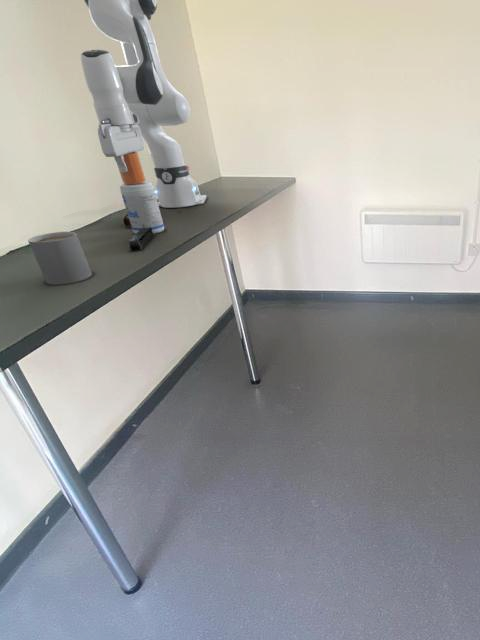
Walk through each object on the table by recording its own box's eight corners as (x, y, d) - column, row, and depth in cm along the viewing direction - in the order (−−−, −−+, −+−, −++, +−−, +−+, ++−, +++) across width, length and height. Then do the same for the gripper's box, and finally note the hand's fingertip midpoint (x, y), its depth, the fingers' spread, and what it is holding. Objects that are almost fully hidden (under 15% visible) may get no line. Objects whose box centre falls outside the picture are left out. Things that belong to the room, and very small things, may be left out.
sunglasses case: (151, 224, 165) (135, 207, 161) (136, 236, 166) (119, 220, 162) (160, 213, 180) (145, 198, 176) (146, 225, 181) (131, 209, 177)
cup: (128, 180, 152) (119, 152, 148) (149, 180, 152) (140, 151, 148) (119, 184, 147) (110, 155, 143) (140, 183, 147) (131, 154, 143)
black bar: (140, 251, 139) (137, 240, 137) (131, 251, 138) (127, 241, 136) (154, 235, 153) (151, 226, 152) (146, 236, 153) (142, 226, 151)
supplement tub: (127, 234, 156) (111, 185, 148) (149, 227, 163) (135, 180, 155) (150, 236, 153) (134, 186, 145) (172, 229, 160) (158, 181, 152)
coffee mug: (84, 282, 116) (68, 240, 111) (39, 286, 115) (20, 244, 109) (101, 266, 127) (86, 226, 122) (60, 269, 126) (43, 230, 120)
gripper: (109, 119, 132) (126, 174, 139) (140, 116, 149) (154, 165, 156) (85, 120, 132) (104, 175, 139) (119, 117, 149) (134, 166, 156)
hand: (131, 170), depth 148 cm, fingers closed on cup, 6 cm apart
